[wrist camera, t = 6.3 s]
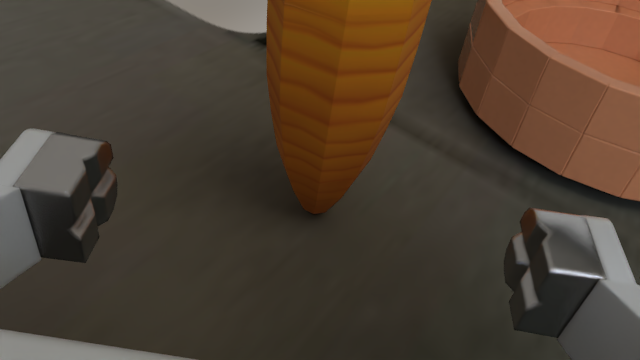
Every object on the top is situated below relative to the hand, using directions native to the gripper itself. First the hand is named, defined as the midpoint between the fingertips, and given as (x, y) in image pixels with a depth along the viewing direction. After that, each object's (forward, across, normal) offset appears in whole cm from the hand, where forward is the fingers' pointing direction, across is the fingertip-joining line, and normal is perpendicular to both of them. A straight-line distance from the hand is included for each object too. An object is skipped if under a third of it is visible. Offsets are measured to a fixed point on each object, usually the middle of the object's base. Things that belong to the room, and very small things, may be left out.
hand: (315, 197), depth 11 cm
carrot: (+9, 0, +9) cm, 13 cm away
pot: (+20, -15, +9) cm, 27 cm away
